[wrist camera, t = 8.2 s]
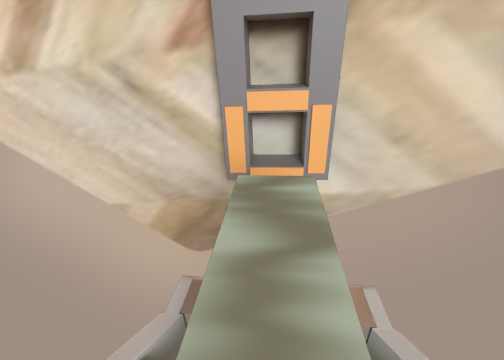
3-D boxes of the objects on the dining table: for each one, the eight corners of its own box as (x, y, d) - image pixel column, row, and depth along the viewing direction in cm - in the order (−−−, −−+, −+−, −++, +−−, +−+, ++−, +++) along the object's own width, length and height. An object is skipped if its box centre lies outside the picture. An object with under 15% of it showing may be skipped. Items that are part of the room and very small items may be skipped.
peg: (314, 175, 14) (433, 563, 3) (309, 235, 16) (371, 593, 5) (238, 175, 14) (124, 512, 4) (242, 233, 16) (177, 558, 6)
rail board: (354, -139, 20) (372, -185, 16) (322, 166, 33) (328, 180, 29) (209, -120, 21) (194, -159, 17) (232, 166, 34) (227, 179, 30)
